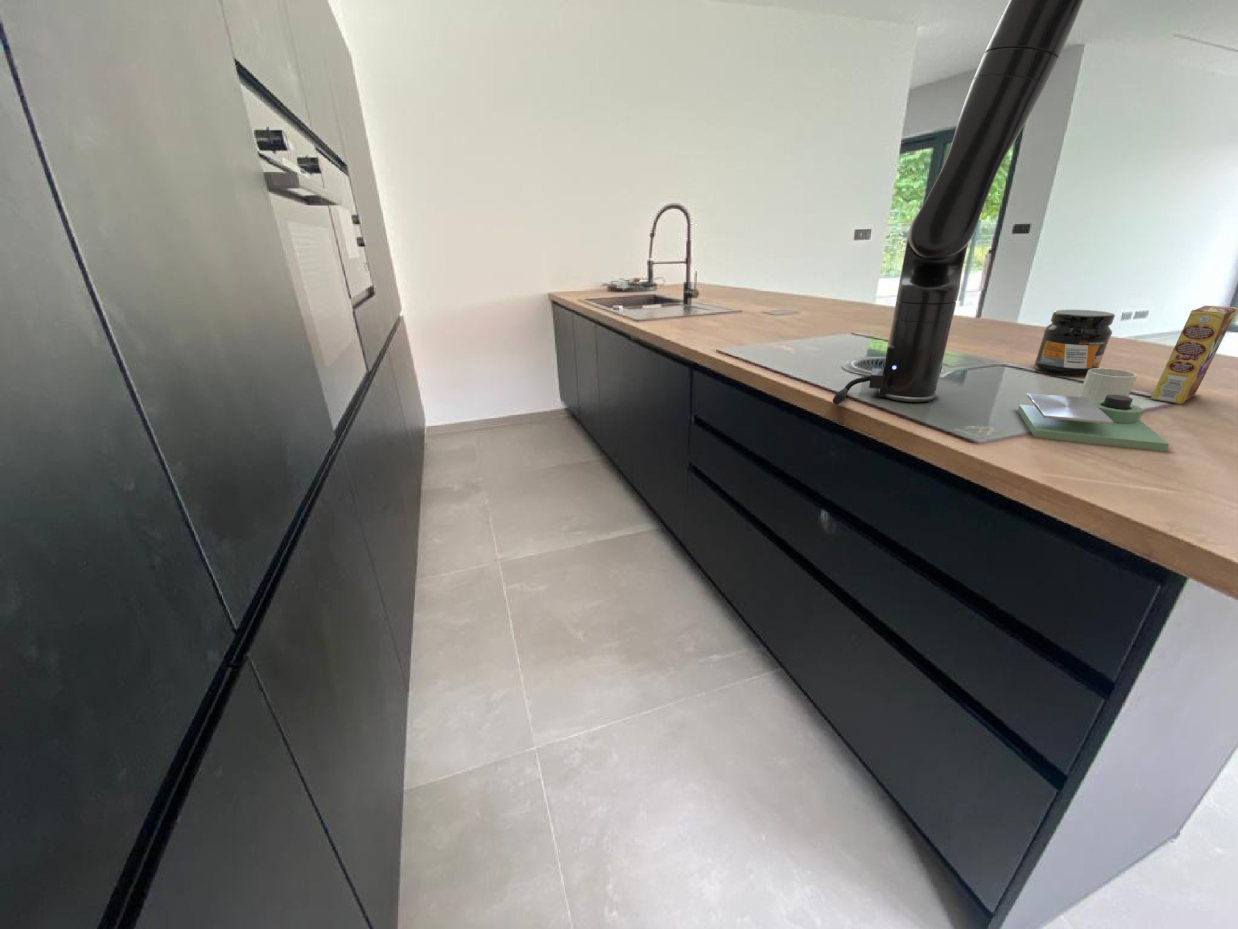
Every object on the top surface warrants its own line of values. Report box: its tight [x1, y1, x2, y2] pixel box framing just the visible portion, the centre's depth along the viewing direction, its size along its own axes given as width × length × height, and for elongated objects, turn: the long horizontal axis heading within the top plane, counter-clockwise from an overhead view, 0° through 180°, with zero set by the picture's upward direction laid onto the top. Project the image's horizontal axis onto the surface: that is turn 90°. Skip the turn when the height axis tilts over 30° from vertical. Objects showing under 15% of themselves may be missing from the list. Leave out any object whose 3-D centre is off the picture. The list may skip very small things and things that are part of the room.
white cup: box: [1078, 367, 1138, 401], centre depth 86 cm, size 6×6×6 cm
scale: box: [1017, 400, 1170, 452], centre depth 76 cm, size 14×14×3 cm
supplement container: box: [1034, 309, 1116, 377], centre depth 104 cm, size 10×10×12 cm
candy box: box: [1150, 305, 1238, 405], centre depth 85 cm, size 9×4×15 cm, turn 123°
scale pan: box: [1026, 392, 1114, 424], centre depth 77 cm, size 8×12×1 cm, turn 153°
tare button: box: [1103, 395, 1133, 410], centre depth 77 cm, size 3×3×2 cm
